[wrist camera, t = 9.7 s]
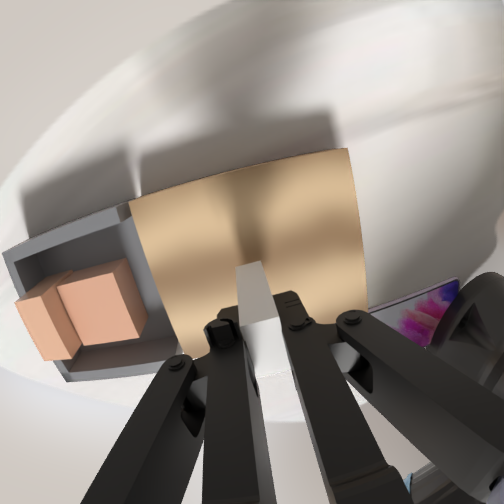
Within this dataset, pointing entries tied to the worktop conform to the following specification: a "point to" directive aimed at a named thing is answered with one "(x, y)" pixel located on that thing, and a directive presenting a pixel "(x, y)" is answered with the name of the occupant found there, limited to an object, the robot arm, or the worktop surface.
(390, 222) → the worktop surface
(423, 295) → the smartphone
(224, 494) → the robot arm
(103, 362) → the tray
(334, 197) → the board
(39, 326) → the tile
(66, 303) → the tile
